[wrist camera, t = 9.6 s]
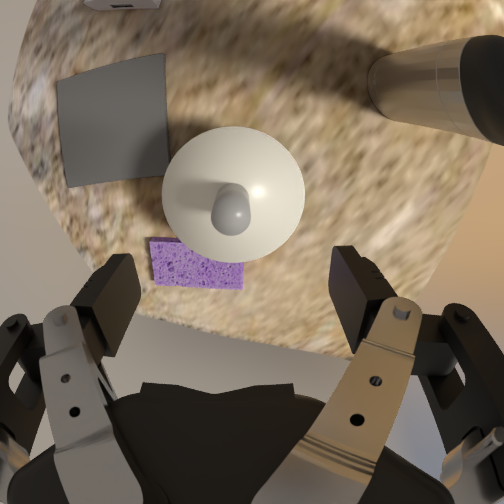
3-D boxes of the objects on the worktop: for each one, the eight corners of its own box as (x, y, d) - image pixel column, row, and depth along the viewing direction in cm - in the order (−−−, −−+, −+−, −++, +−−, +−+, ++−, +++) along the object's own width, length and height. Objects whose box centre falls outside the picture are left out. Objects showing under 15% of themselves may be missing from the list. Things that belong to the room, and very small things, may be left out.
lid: (304, 125, 25) (320, 129, 20) (300, 256, 31) (311, 286, 26) (156, 133, 24) (136, 138, 19) (173, 261, 31) (161, 291, 26)
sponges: (152, 235, 37) (149, 241, 35) (245, 239, 38) (245, 245, 36) (157, 278, 40) (154, 286, 39) (242, 283, 41) (242, 291, 39)
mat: (165, 54, 26) (162, 52, 25) (171, 173, 33) (169, 174, 32) (61, 82, 25) (57, 81, 24) (71, 186, 32) (67, 188, 31)
